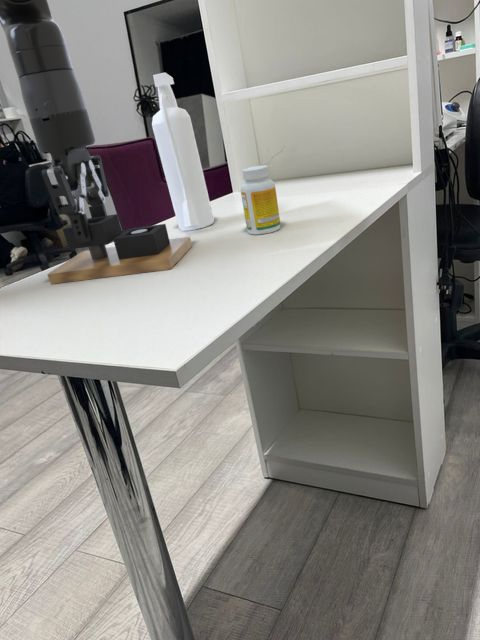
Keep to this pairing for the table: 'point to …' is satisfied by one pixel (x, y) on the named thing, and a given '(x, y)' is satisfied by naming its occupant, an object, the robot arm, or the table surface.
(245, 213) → the supplement bottle
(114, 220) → the dark grey square ring
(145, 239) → the black square holder
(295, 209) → the table surface
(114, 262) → the wooden board
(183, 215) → the white spray bottle
